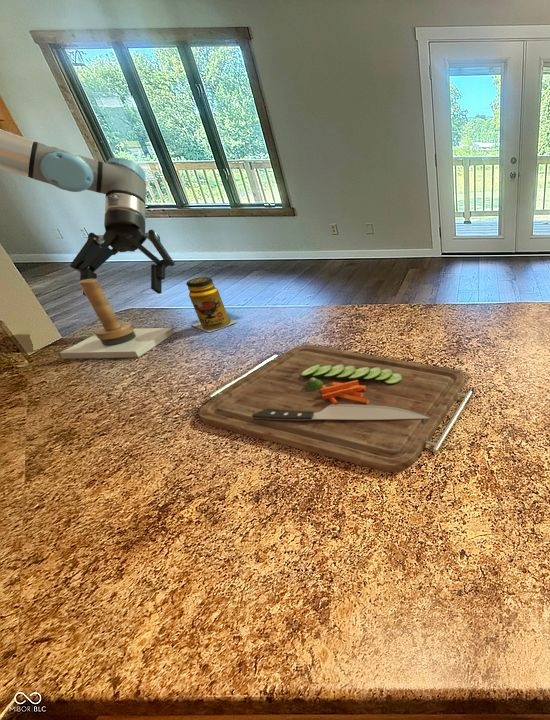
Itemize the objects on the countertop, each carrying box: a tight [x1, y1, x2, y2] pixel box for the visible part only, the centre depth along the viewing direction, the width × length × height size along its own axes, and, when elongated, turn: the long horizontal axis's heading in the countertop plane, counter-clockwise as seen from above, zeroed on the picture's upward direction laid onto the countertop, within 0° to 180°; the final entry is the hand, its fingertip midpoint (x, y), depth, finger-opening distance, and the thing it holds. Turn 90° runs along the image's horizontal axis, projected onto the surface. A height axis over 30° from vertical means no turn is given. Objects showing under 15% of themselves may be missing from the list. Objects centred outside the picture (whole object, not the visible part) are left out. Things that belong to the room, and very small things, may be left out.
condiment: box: [186, 276, 239, 333], centre depth 95 cm, size 7×8×12 cm
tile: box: [59, 327, 175, 360], centre depth 88 cm, size 16×12×2 cm
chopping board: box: [198, 344, 473, 473], centre depth 69 cm, size 45×27×3 cm, turn 72°
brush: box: [78, 278, 136, 346], centre depth 84 cm, size 6×6×14 cm
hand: (123, 294), depth 91 cm, fingers open, 13 cm apart
